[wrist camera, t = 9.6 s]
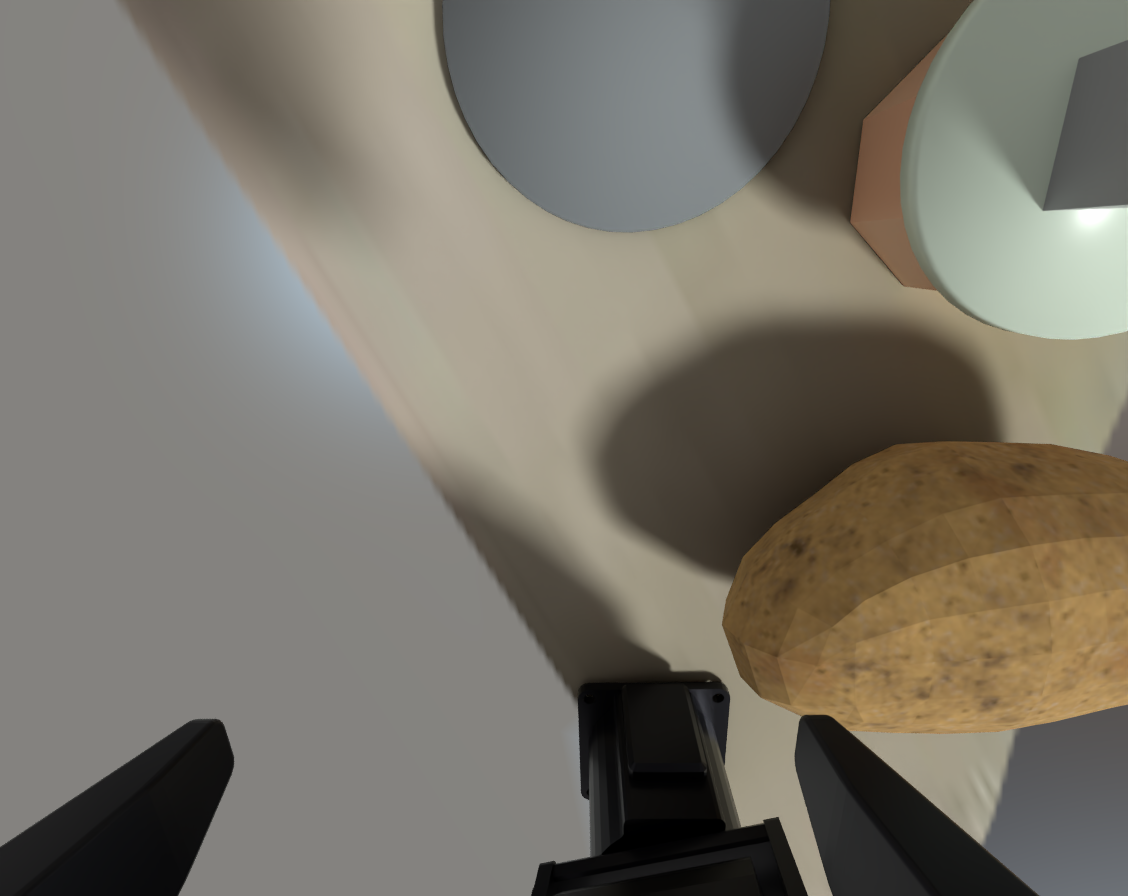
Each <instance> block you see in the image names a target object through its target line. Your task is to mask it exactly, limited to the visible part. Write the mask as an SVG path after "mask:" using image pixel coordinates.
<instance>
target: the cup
mask: <svg viewBox="0 0 1128 896" xmlns="http://www.w3.org/2000/svg"><path fill="white" fill-rule="evenodd" d="M946 37H947V35H946V36H945V37H944V38H943V39H942V40H941V41H940V42H939V43H938V44H937V45H936V46H935V47H934V48H933V49H932V50H931V51H930V52H929V53H928V54H927V55H926V57H925V58H924V59H923V60H922V61H921V62H920V63H919V64H918V65H917V66H916V67H915V68H914V69H913V70H912V71H911V72H910V73H909V74H908V75H907V76H906V77H905V78H904V79H903V80H902V81H901V82H900V83H899V84H898V85H897V86H896V87H895V88H894V89H893V90H892V91H891V92H890V93H889V94H888V95H887V96H886V97H885V98H884V99H883V100H882V101H881V102H880V103H879V104H878V105H877V106H876V107H875V108H874V109H873V110H872V111H871V112H870V113H869V114H868V115H867V117H866V118H865V119H864V120H863V127H862V135H861V142H860V150H859V158H858V166H857V173H856V181H855V189H854V197H853V205H852V212H851V220H850V223H851V224H852V225H853V226H854V227H855V229H856V230H857V231H858V232H859V233H860V235H861V236H862V237H863V238H864V239H865V240H866V242H867V243H868V244H869V245H870V246H871V247H872V249H873V250H874V251H875V252H876V253H877V255H878V256H879V257H880V258H881V259H882V260H883V262H884V263H885V264H886V265H887V266H888V268H889V269H890V270H891V271H892V272H893V273H894V275H895V276H896V277H897V278H898V279H899V281H900V282H901V283H902V284H903V285H904V286H905V287H913V288H921V289H929V290H937V289H936V288H935V287H934V286H933V285H932V283H931V282H930V281H929V279H928V278H927V276H926V275H925V273H924V272H923V271H922V269H921V267H920V265H919V263H918V261H917V259H916V257H915V255H914V253H913V251H912V249H911V245H910V242H909V239H908V236H907V233H906V229H905V226H904V220H903V214H902V208H901V197H900V170H901V159H902V149H903V144H904V140H905V135H906V130H907V126H908V121H909V118H910V115H911V112H912V109H913V106H914V103H915V100H916V97H917V94H918V91H919V89H920V87H921V84H922V82H923V80H924V78H925V76H926V73H927V71H928V69H929V67H930V64H931V62H932V61H933V59H934V57H935V56H936V54H937V52H938V50H939V49H940V47H941V45H942V44H943V42H944V40H945V38H946ZM937 291H938V290H937Z"/></svg>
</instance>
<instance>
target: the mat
mask: <svg viewBox="0 0 1128 896" xmlns="http://www.w3.org/2000/svg"><path fill="white" fill-rule="evenodd" d="M442 8H443V36H444V43H445V50H446V57H447V63H448V68H449V72H450V76H451V80H452V83H453V87H454V91H455V94H456V97H457V99H458V102H459V105H460V107H461V110H462V112H463V115H464V118H465V120H466V122H467V123H468V125H469V127H470V129H471V131H472V133H473V135H474V137H475V139H476V141H477V142H478V144H479V145H480V147H481V148H482V150H483V151H484V153H485V154H486V156H487V157H488V158H489V160H490V161H491V163H492V164H493V165H494V166H495V167H496V169H497V170H498V171H499V172H500V173H501V174H502V175H503V176H504V178H505V179H506V180H507V181H508V182H509V183H510V184H511V185H512V186H514V187H515V188H516V189H517V190H518V191H519V192H520V193H522V194H523V195H524V196H525V197H526V198H527V199H529V200H530V201H532V202H533V203H535V204H536V205H538V206H539V207H541V208H542V209H544V210H545V211H547V212H549V213H551V214H553V215H555V216H557V217H559V218H561V219H564V220H566V221H568V222H571V223H574V224H577V225H580V226H584V227H587V228H591V229H597V230H603V231H609V232H640V231H649V230H656V229H660V228H664V227H668V226H672V225H676V224H679V223H682V222H684V221H687V220H689V219H692V218H694V217H697V216H699V215H701V214H703V213H705V212H707V211H708V210H710V209H712V208H714V207H716V206H717V205H719V204H721V203H722V202H724V201H725V200H727V199H728V198H729V197H731V196H732V195H733V194H735V193H736V192H737V191H739V190H740V189H741V188H743V187H744V186H745V185H746V184H747V183H748V182H749V181H750V180H751V179H752V178H753V177H754V176H755V175H756V174H758V173H759V172H760V171H761V169H762V168H763V167H764V166H765V165H766V164H767V162H768V161H769V160H770V159H771V158H772V157H773V155H774V154H775V153H776V152H777V151H778V149H779V148H780V146H781V145H782V143H783V142H784V140H785V139H786V137H787V136H788V134H789V133H790V131H791V130H792V128H793V126H794V125H795V123H796V121H797V119H798V117H799V115H800V113H801V111H802V109H803V107H804V105H805V103H806V101H807V99H808V96H809V94H810V91H811V88H812V86H813V83H814V81H815V78H816V76H817V72H818V68H819V65H820V61H821V57H822V54H823V50H824V46H825V40H826V34H827V28H828V21H829V13H830V0H443V5H442Z"/></svg>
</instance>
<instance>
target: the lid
mask: <svg viewBox="0 0 1128 896" xmlns="http://www.w3.org/2000/svg"><path fill="white" fill-rule="evenodd" d="M900 197H901V208H902V214H903V220H904V226H905V229H906V233H907V236H908V239H909V242H910V245H911V249H912V251H913V253H914V255H915V257H916V259H917V261H918V263H919V265H920V267H921V269H922V271H923V272H924V273H925V275H926V276H927V278H928V279H929V281H930V282H931V283H932V285H933V286H934V287H935V288H936V289H937V290H938V291H939V293H940V294H941V295H942V296H943V297H944V298H945V299H946V300H947V301H948V302H950V303H951V304H952V305H954V306H955V307H956V308H958V309H959V310H960V311H962V312H963V313H965V314H966V315H968V316H970V317H972V318H974V319H976V320H978V321H980V322H982V323H984V324H987V325H990V326H993V327H996V328H999V329H1002V330H1006V331H1011V332H1016V333H1021V334H1026V335H1031V336H1037V337H1043V338H1048V339H1071V340H1075V339H1086V338H1097V337H1103V336H1107V335H1112V334H1117V333H1122V332H1126V331H1128V0H974V1H973V2H972V3H971V4H970V5H969V6H968V7H967V9H966V10H965V11H964V13H963V14H962V16H961V17H960V18H959V20H958V21H957V22H956V24H955V25H954V27H953V28H952V29H951V31H950V32H949V34H948V35H947V37H946V38H945V40H944V42H943V44H942V45H941V47H940V49H939V50H938V52H937V54H936V56H935V57H934V59H933V61H932V62H931V64H930V67H929V69H928V71H927V73H926V76H925V78H924V80H923V82H922V84H921V87H920V89H919V91H918V94H917V97H916V100H915V103H914V106H913V109H912V112H911V115H910V118H909V121H908V126H907V130H906V135H905V140H904V144H903V149H902V159H901V170H900Z"/></svg>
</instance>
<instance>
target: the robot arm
mask: <svg viewBox="0 0 1128 896" xmlns="http://www.w3.org/2000/svg"><path fill="white" fill-rule="evenodd" d="M718 693H719V694H720V695H718V696H714V695H715V694H718ZM589 694H590V695H593V696H592V697H587V696H586V695H589ZM729 705H730V695H729V692H728V689H727V687H726V686H725V685H724V684H723V683H720V682H666V683H587V684H584V685H582V686H581V687H580V688H579V690H578V714H579V745H580V773H581V794H582V796H583V797H584V798H586V799H588V800H589V803H590V857H587V858H582V859H577V860H572V861H567V862H562V863H557V864H556V862H555V861H551V862H546V863H541V864H540V865H539V868H538V873H537V877H536V881H535V885H534V888H533V890H532V895H531V896H808V895H807V892H806V889H805V887H804V884H803V881H802V879H801V876H800V873H799V871H798V868H797V865H796V863H795V860H794V857H793V855H792V852H791V849H790V847H789V844H788V841H787V839H786V836H785V833H784V831H783V828H782V825H781V823H780V820H779V817H776V818H771V819H766V820H763V822H764V823H761V824H756V825H751V826H746V827H741V825H740V821H739V817H738V814H737V810H736V807H735V803H734V799H733V796H732V792H731V789H730V785H729V781H728V778H727V774H726V771H725V767H724V765H725V753H726V741H727V729H728V717H729ZM795 767H796V772H797V775H798V779H799V782H800V786H801V789H802V793H803V797H804V800H805V804H806V807H807V811H808V814H809V818H810V821H811V825H812V828H813V832H814V835H815V839H816V842H817V846H818V849H819V853H820V856H821V860H822V863H823V867H824V870H825V873H826V877H827V880H828V883H829V886H830V889H831V892H832V895H833V896H1039V895H1038V894H1037V893H1036V892H1035V891H1033V890H1032V889H1031V888H1030V887H1029V886H1028V885H1026V884H1025V883H1024V882H1023V881H1022V880H1021V879H1020V878H1018V877H1017V876H1016V875H1015V874H1014V873H1013V872H1011V871H1010V870H1009V869H1008V868H1007V867H1006V866H1004V865H1003V864H1002V863H1001V862H1000V861H999V860H998V859H996V858H995V857H994V856H993V855H992V854H990V853H989V852H988V851H987V850H986V849H985V848H984V847H982V846H981V845H980V844H979V843H978V842H977V841H976V840H974V839H973V838H972V837H971V836H970V835H969V834H967V833H966V832H965V831H964V830H963V829H962V828H960V827H959V826H958V825H957V824H956V823H955V822H954V821H952V820H951V819H950V818H949V817H948V816H947V815H945V814H944V813H943V812H942V811H941V810H940V809H938V808H937V807H936V806H935V805H934V804H933V803H932V802H930V801H929V800H928V799H927V798H926V797H925V796H923V795H922V794H921V793H920V792H919V791H918V790H916V789H915V788H914V787H913V786H912V785H911V784H910V783H908V782H907V781H906V780H905V779H904V778H903V777H901V776H900V775H899V774H898V773H897V772H896V771H894V770H893V769H892V768H891V767H890V766H889V765H887V764H886V763H885V762H884V761H883V760H882V759H881V758H879V757H878V756H877V755H876V754H875V753H874V752H872V751H871V750H870V749H869V748H868V747H867V746H865V745H864V744H863V743H862V742H861V741H860V740H859V739H857V738H856V737H855V736H854V735H853V734H852V733H850V732H849V731H848V730H847V729H846V728H845V727H843V726H842V725H841V724H840V723H839V722H838V721H837V720H835V719H834V718H833V717H831V716H829V715H803V716H802V717H801V719H800V721H799V727H798V734H797V741H796V749H795ZM233 768H234V755H233V752H232V749H231V746H230V742H229V739H228V736H227V733H226V730H225V726H224V724H223V723H222V722H221V721H220V720H218V719H195V720H192V721H189V722H188V723H186V724H185V725H183V726H182V727H180V728H179V729H177V730H176V731H174V732H173V733H171V734H170V735H168V736H167V737H165V738H163V739H162V740H160V741H159V742H157V743H156V744H155V745H153V746H151V747H150V748H148V749H147V750H145V751H144V752H142V753H141V754H140V755H138V756H136V757H135V758H133V759H132V760H130V761H129V762H128V763H126V764H124V765H123V766H121V767H120V768H118V769H117V770H115V771H114V772H112V773H111V774H110V775H108V776H106V777H105V778H103V779H102V780H101V781H99V782H97V783H96V784H94V785H93V786H91V787H90V788H88V789H87V790H85V791H84V792H82V793H81V794H79V795H78V796H76V797H75V798H73V799H72V800H70V801H69V802H67V803H66V804H64V805H63V806H61V807H60V808H58V809H57V810H55V811H54V812H52V813H51V814H49V815H48V816H46V817H45V818H43V819H42V820H40V821H38V822H37V823H35V824H34V825H33V826H31V827H29V828H28V829H27V830H25V831H24V832H22V833H21V834H19V835H17V836H16V837H14V838H13V839H11V840H10V841H8V842H7V843H5V844H4V845H2V846H1V847H0V896H178V895H179V893H180V891H181V889H182V887H183V885H184V883H185V881H186V879H187V877H188V874H189V872H190V870H191V868H192V865H193V863H194V861H195V859H196V857H197V854H198V852H199V850H200V847H201V845H202V843H203V840H204V838H205V835H206V833H207V831H208V829H209V826H210V824H211V822H212V819H213V817H214V815H215V812H216V810H217V808H218V805H219V803H220V801H221V798H222V796H223V794H224V791H225V789H226V786H227V784H228V782H229V779H230V777H231V775H232V772H233Z"/></svg>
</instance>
